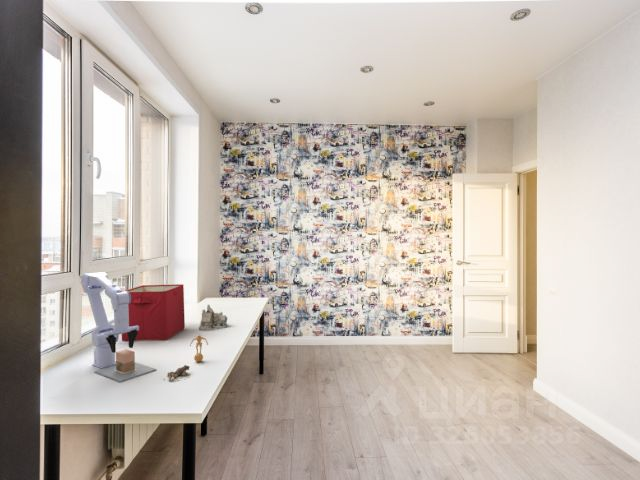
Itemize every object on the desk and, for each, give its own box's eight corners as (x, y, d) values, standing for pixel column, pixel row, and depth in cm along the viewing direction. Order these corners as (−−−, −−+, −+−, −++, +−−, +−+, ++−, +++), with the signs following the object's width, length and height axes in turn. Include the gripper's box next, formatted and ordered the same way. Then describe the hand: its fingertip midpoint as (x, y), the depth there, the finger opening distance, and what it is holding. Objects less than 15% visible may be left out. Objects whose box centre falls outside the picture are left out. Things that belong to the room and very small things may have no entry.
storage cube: (166, 341, 214) (164, 290, 213) (118, 342, 214) (117, 291, 214) (187, 327, 246) (186, 283, 246) (145, 328, 246) (144, 284, 246)
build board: (94, 372, 166) (94, 370, 166) (130, 361, 179) (130, 360, 179) (119, 382, 153) (119, 380, 153) (156, 370, 166) (156, 368, 166)
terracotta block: (116, 361, 166) (115, 351, 166) (126, 358, 170) (126, 349, 169) (124, 363, 162) (123, 354, 162) (134, 360, 165) (134, 351, 165)
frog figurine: (182, 370, 167) (182, 361, 167) (197, 376, 159) (197, 367, 159) (157, 378, 158) (157, 369, 158) (172, 384, 150) (171, 375, 150)
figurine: (188, 363, 174) (187, 337, 174) (191, 359, 180) (190, 334, 180) (207, 362, 175) (206, 336, 175) (209, 358, 181) (208, 333, 181)
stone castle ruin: (195, 330, 237) (196, 306, 237) (209, 325, 253) (210, 302, 253) (217, 332, 233) (218, 308, 233) (230, 327, 249) (231, 304, 249)
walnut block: (116, 370, 166) (115, 360, 166) (126, 366, 170) (126, 358, 170) (124, 372, 162) (124, 363, 162) (134, 369, 166) (134, 360, 166)
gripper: (109, 323, 159) (110, 355, 159) (142, 317, 170) (143, 347, 171) (101, 321, 163) (101, 353, 163) (133, 315, 174) (134, 344, 175)
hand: (122, 349), depth 167 cm, fingers open, 7 cm apart
